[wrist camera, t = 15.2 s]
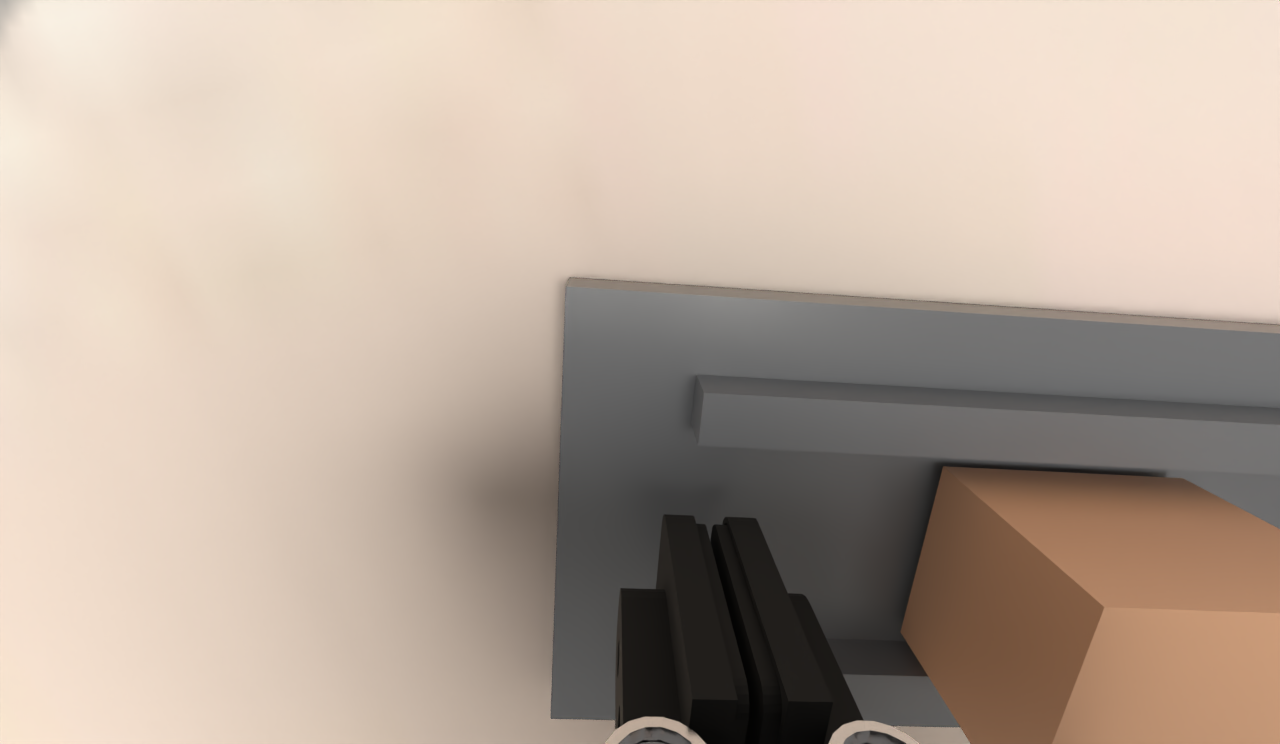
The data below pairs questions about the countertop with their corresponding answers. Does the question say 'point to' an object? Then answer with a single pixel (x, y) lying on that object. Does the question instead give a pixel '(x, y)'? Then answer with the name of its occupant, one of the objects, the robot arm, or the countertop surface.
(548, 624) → the countertop surface
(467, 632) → the countertop surface
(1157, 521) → the cardboard brown cuboid
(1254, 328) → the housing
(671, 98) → the countertop surface
